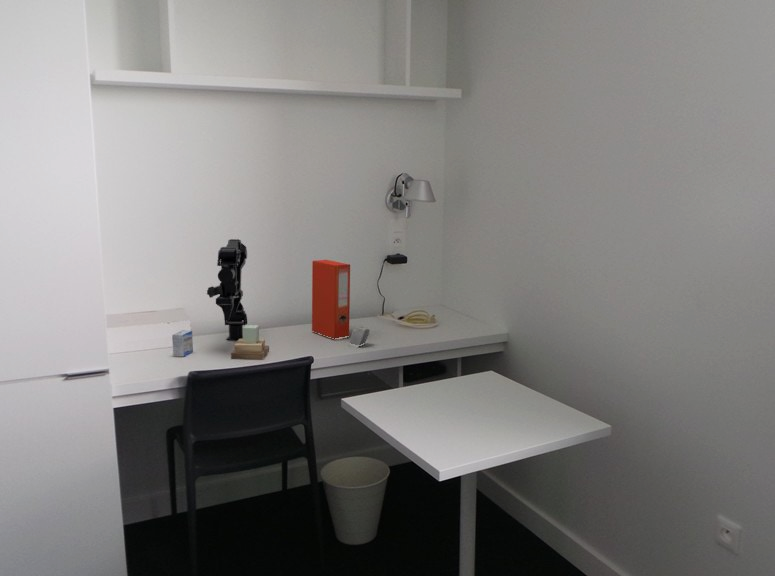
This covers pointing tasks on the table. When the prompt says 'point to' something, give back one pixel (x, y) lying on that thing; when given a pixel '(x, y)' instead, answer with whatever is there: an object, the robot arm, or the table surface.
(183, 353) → the medicine box
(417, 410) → the table surface
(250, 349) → the oak slab
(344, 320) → the file binder
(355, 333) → the mineral specimen
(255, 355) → the walnut slab
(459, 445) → the table surface
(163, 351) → the table surface
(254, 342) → the sage block
